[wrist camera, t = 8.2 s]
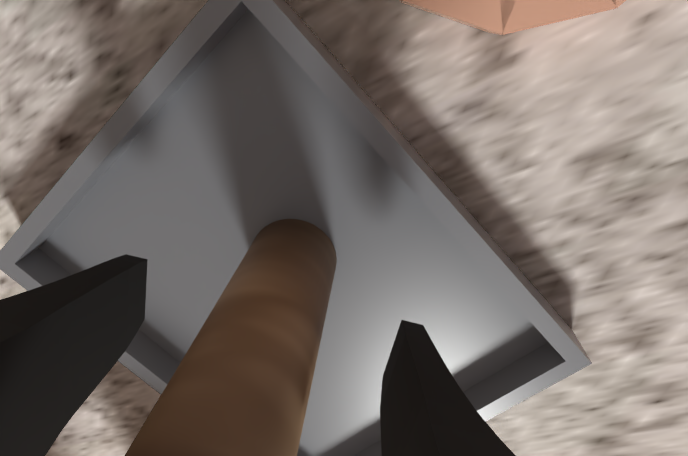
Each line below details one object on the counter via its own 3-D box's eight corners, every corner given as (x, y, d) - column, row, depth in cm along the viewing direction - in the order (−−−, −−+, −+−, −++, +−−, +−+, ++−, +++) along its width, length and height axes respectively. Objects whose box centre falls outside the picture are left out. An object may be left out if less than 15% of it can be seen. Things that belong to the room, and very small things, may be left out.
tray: (572, 330, 17) (592, 363, 15) (320, 476, 21) (315, 514, 20) (257, -30, 13) (239, -38, 12) (27, 239, 18) (-10, 261, 16)
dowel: (345, 230, 16) (298, 466, 7) (327, 303, 17) (269, 573, 9) (257, 209, 16) (113, 423, 7) (246, 284, 17) (111, 537, 9)
